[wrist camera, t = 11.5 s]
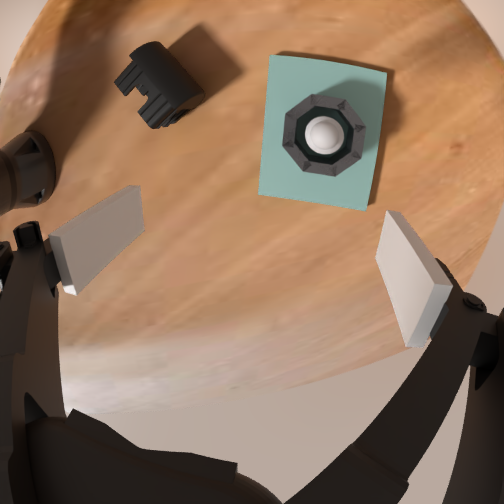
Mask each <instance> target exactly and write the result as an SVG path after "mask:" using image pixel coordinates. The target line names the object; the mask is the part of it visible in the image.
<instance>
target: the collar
mask: <svg viewBox="0 0 504 504" xmlns="http://www.w3.org/2000/svg"><path fill="white" fill-rule="evenodd" d="M313 107H321V108H327V109H333V110H336V111H337V113H338V114H339V115H340V116H341V118H342V119H343V120H344V122H345V123H346V124H347V126H348V132H347V139H346V146H345V147H344V148H342V149H341V150H340V151H338V152H337V153H335V154H334V155H332V156H331V157H330V158H328V157H322V156H315V155H309V154H308V153H307V151H306V150H305V149H304V148H303V146H302V145H301V144H300V143H299V141H298V140H297V139H296V135H297V125H298V118H300V117H301V116H302V115H304V114H305V113H306V112H308V111H309V110H310V109H312V108H313ZM365 132H366V126H365V124H364V123H363V122H362V120H361V119H360V117H359V116H358V115H357V113H356V112H355V111H354V109H353V108H352V107H351V106H350V104H349V103H348V102H347V100H346V99H341V98H335V97H329V96H323V95H316V94H311V95H309V96H308V97H307V98H305V99H304V100H303V101H301V102H300V103H298V104H297V105H296V106H294V107H293V108H292V109H291V110H289V111H288V112H287V113H285V120H284V131H283V141H282V147H283V148H284V149H285V150H286V151H287V153H288V154H289V155H290V156H291V158H292V159H293V160H294V161H295V162H296V164H297V165H298V166H299V167H300V169H301V170H302V171H303V172H308V173H315V174H321V175H327V176H333V177H336V176H337V175H339V174H340V173H342V172H343V171H344V170H346V169H347V168H349V167H350V166H352V165H353V164H354V163H356V162H357V161H359V160H360V159H362V152H363V146H364V139H365Z"/></svg>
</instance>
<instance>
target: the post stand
mask: <svg viewBox="0 0 504 504" xmlns="http://www.w3.org/2000/svg"><path fill="white" fill-rule="evenodd" d="M386 79H387V73H385V72H380V71H376V70H372V69H368V68H363V67H358V66H353V65H348V64H343V63H337V62H331V61H324V60H317V59H310V58H301V57H291V56H279V55H270V58H269V71H268V83H267V95H266V107H265V119H264V131H263V143H262V155H261V167H260V179H259V191H258V195H265V196H273V197H280V198H287V199H294V200H301V201H307V202H314V203H320V204H326V205H332V206H338V207H344V208H350V209H356V210H361V211H366V209H367V204H368V199H369V194H370V189H371V184H372V179H373V174H374V168H375V163H376V157H377V151H378V144H379V138H380V131H381V124H382V116H383V108H384V99H385V90H386ZM311 94H316V95H323V96H329V97H335V98H341V99H346V100H347V102H348V103H349V104H350V106H351V107H352V108H353V109H354V111H355V112H356V113H357V115H358V116H359V117H360V119H361V120H362V122H363V123H364V124H365V126H366V132H365V139H364V146H363V152H362V159H360V160H359V161H357V162H356V163H354V164H353V165H352V166H350V167H349V168H347V169H346V170H344V171H343V172H342V173H340V174H339V175H337V176H336V177H333V176H327V175H321V174H315V173H308V172H303V171H302V170H301V169H300V167H299V166H298V165H297V164H296V162H295V161H294V160H293V159H292V158H291V156H290V155H289V154H288V153H287V151H286V150H285V149H284V148H283V147H282V141H283V131H284V120H285V113H287V112H288V111H289V110H291V109H292V108H293V107H294V106H296V105H297V104H298V103H300V102H301V101H303V100H304V99H305V98H307V97H308V96H309V95H311ZM347 132H348V126H347V124H346V123H345V122H344V120H343V119H342V118H341V116H340V115H339V114H338V113H337V111H336V110H333V109H327V108H321V107H313V108H312V109H310V110H309V111H308V112H306V113H305V114H304V115H302V116H301V117H300V118H298V125H297V135H296V139H297V140H298V141H299V143H300V144H301V145H302V146H303V148H304V149H305V150H306V151H307V153H308V154H309V155H315V156H322V157H328V158H330V157H331V156H332V155H334V154H335V153H337V152H338V151H340V150H341V149H342V148H344V147H345V146H346V139H347Z"/></svg>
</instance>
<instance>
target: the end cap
mask: <svg viewBox="0 0 504 504" xmlns="http://www.w3.org/2000/svg"><path fill="white" fill-rule="evenodd" d="M129 56H130V57H131V59H132V60H133V61H132V62H131V63H130V64H129V65H128V66H127V68H126V69H125V70H124V71H123V72H122V73H121V74H120V75H119V77H118V78H117V79H116V80H115V81H114V83H115V85H116V86H117V87H118V88H119V90H120V91H121V92H122V93H123V95H124V96H127V95H128V94H129V93H130V92H131V91H132V90H133V89H134V88H135V87H136V88H137V89H138V90H139V92H140V93H141V94H142V95H143V96H145V95H147V96H148V100H147V102H146V103H145V104H144V105H143V106H142V107H141V108H140V109H139V111H138V113H139V115H140V116H141V117H142V118H143V120H144V121H145V122H146V123H147V125H148V126H149V127H150V128H152V129H159V128H160V127H161V126H163V127H168V126H169V125H170V124H174V123H176V122H177V121H178V120H179V119H180V118H181V117H182V116H184V115H185V114H186V113H187V112H188V111H189V110H190V109H194V108H195V107H196V106H198V105H199V103H200V102H201V101H202V100H203V98H204V96H205V93H204V91H203V90H202V89H201V88H200V86H199V85H198V84H197V83H196V82H195V81H194V79H193V78H192V77H191V76H190V75H189V74H188V73H187V71H186V70H185V69H184V68H183V67H182V66H181V65H180V63H179V62H178V61H177V60H176V59H175V58H174V57H173V56H172V55H171V53H170V52H169V51H168V50H167V49H166V48H165V47H164V46H163V45H162V44H161V43H160V42H157V41H153V42H148V43H146V44H144V45H142V46H140V47H138V48H137V49H136V50H134V51H133V52H132V53H131V54H130V55H129Z"/></svg>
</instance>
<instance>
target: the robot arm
mask: <svg viewBox="0 0 504 504" xmlns="http://www.w3.org/2000/svg"><path fill="white" fill-rule="evenodd" d="M0 83H1V79H0ZM54 184H55V163H54V158H53V154H52V151H51V148H50V146H49V144H48V142H47V141H46V139H45V138H44V137H43V136H42V135H41V134H40V133H38V132H36V131H28V132H25V133H21V134H19V135H18V136H16V137H15V138H14V139H12V140H11V141H10V142H8V143H7V144H6V145H5V146H3V147H2V148H1V149H0V216H2V215H3V214H5V213H7V212H8V211H10V210H12V209H18V208H28V207H35V206H38V205H40V204H42V203H44V202H45V201H47V200H48V199H49V197H50V196H51V194H52V192H53V189H54ZM144 231H145V229H144V220H143V211H142V201H141V189H140V186H133V185H129V186H127V187H125V188H123V189H122V190H120V191H118V192H116V193H115V194H113V195H111V196H109V197H108V198H106V199H104V200H102V201H101V202H99V203H97V204H96V205H94V206H92V207H91V208H89V209H87V210H86V211H84V212H83V213H81V214H79V215H78V216H76V217H75V218H73V219H72V220H70V221H68V222H67V223H65V224H64V225H62V226H61V227H59V228H58V229H56V230H55V231H53V232H52V233H50V234H49V235H48V236H49V238H48V239H46V240H45V241H44V242H43V239H42V235H41V230H40V226H39V222H38V221H29V222H26V223H23V224H21V225H19V226H17V227H16V228H15V229H14V230H13V233H14V236H15V240H16V243H17V247H18V249H17V251H12V249H11V246H10V243H9V242H8V241H4V242H0V288H1V292H0V504H282V503H281V501H280V500H279V499H278V498H277V497H276V496H275V495H274V494H273V493H271V492H270V491H269V490H268V489H267V488H265V487H264V486H262V485H261V484H259V483H257V482H256V481H254V480H252V479H250V478H249V477H247V476H244V475H242V474H240V473H237V463H235V462H229V461H224V460H219V459H214V458H210V457H206V456H202V455H197V454H194V453H186V452H169V451H157V450H146V449H142V448H139V447H137V446H135V445H134V444H133V443H131V442H130V441H128V440H127V439H126V438H124V437H123V436H121V435H120V434H119V433H117V432H116V431H115V430H113V429H112V428H111V427H109V426H108V425H107V424H105V423H103V422H101V421H98V420H96V419H94V418H92V417H90V416H87V415H86V414H83V413H81V412H79V411H77V410H75V409H72V411H71V413H70V414H69V416H68V417H66V414H65V410H64V403H63V395H62V386H61V376H60V363H59V344H58V297H59V292H58V289H57V286H56V285H57V284H58V283H59V282H60V281H61V282H62V285H63V288H64V291H65V292H67V293H70V294H74V295H78V294H79V293H80V292H81V291H82V290H83V289H84V288H85V287H86V286H87V285H88V284H89V283H90V282H91V281H92V280H93V279H94V278H95V277H96V276H97V275H98V274H99V273H100V272H101V271H102V270H103V269H104V268H105V267H106V266H107V265H108V264H109V263H110V262H111V261H112V260H113V259H114V258H115V257H116V256H117V255H119V254H120V253H121V252H122V251H123V250H124V249H125V248H126V247H127V246H128V245H129V244H130V243H132V242H133V241H134V240H135V239H136V238H137V237H138V236H139V235H140V234H142V233H143V232H144ZM375 259H376V261H377V264H378V266H379V269H380V272H381V274H382V277H383V280H384V282H385V285H386V288H387V291H388V293H389V296H390V299H391V302H392V305H393V308H394V311H395V314H396V317H397V320H398V323H399V326H400V330H401V333H402V336H403V339H404V343H405V346H406V347H424V345H425V343H426V341H427V339H428V337H429V336H430V337H431V340H432V341H431V342H430V344H429V345H428V347H427V349H426V350H425V352H424V353H423V355H422V356H421V358H420V359H419V361H418V362H417V364H416V365H415V367H414V368H413V370H412V371H411V373H410V374H409V375H408V377H407V378H406V380H405V381H404V382H403V384H402V385H401V387H400V388H399V389H398V391H397V392H396V393H395V394H394V396H393V397H392V398H391V400H390V401H389V402H388V404H387V405H386V406H385V407H384V408H383V410H382V411H381V412H380V413H379V415H378V416H377V417H376V418H375V419H374V420H373V422H372V423H371V424H370V425H369V426H368V427H367V428H366V430H365V431H364V432H363V433H362V434H361V435H360V436H359V437H358V438H357V439H356V441H354V442H353V443H352V444H350V445H349V446H348V447H347V448H346V449H345V450H344V451H343V452H342V453H341V454H340V455H339V456H338V457H337V458H336V459H335V460H334V461H333V462H332V463H331V464H330V465H328V467H326V468H325V469H324V470H323V471H322V472H321V473H320V474H319V475H318V476H316V477H315V478H314V479H313V480H312V481H311V482H310V483H308V485H306V486H305V487H304V488H303V489H301V490H300V491H299V492H298V493H297V494H295V495H294V496H293V497H292V498H290V499H289V500H288V501H286V502H285V503H284V504H397V503H398V502H399V501H400V500H401V498H402V497H403V495H404V493H405V492H406V491H407V489H408V486H409V483H408V482H407V480H408V478H409V476H410V475H411V473H412V472H413V470H414V469H415V467H416V466H417V464H418V463H419V461H420V460H421V458H422V457H423V455H424V453H425V452H426V450H427V449H428V447H429V445H430V444H431V442H432V440H433V439H434V437H435V435H436V433H437V432H438V430H439V428H440V426H441V424H442V422H443V420H444V418H445V417H446V415H447V413H448V411H449V409H450V407H451V405H452V403H453V401H454V398H455V396H456V394H457V392H458V390H459V388H460V385H461V383H462V381H463V378H464V376H465V374H466V371H467V369H468V366H469V365H470V379H469V389H468V397H467V405H466V412H465V418H464V424H463V429H462V434H461V439H460V444H459V449H458V452H457V457H456V460H455V464H454V468H453V472H452V475H451V479H450V482H449V485H448V488H447V491H446V494H445V497H444V500H443V503H442V504H504V308H503V309H502V311H501V313H500V315H499V316H496V315H493V314H490V313H487V309H486V306H485V304H484V303H483V302H482V300H480V299H479V298H478V297H476V296H475V295H473V294H470V293H466V292H463V290H462V289H461V287H460V286H459V284H458V283H457V281H456V280H455V279H454V277H453V275H452V274H451V273H450V271H449V269H448V268H447V266H446V265H445V264H444V263H442V262H441V261H440V260H439V259H438V258H434V257H433V255H432V254H431V252H430V251H429V250H428V248H427V247H426V245H425V244H424V243H423V241H422V240H421V239H420V237H419V236H418V235H417V233H416V232H415V231H414V229H413V228H412V227H411V225H410V224H409V223H408V222H407V220H406V219H405V218H404V216H403V215H402V214H401V213H400V212H396V211H390V210H387V211H386V215H385V220H384V224H383V229H382V233H381V237H380V241H379V245H378V249H377V253H376V257H375Z"/></svg>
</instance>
